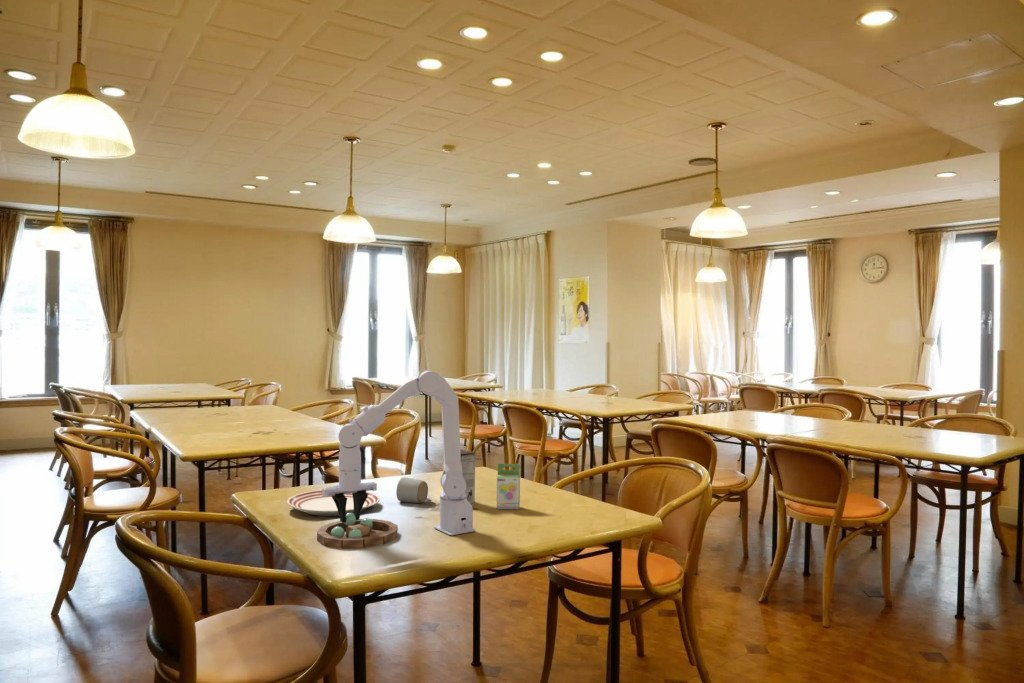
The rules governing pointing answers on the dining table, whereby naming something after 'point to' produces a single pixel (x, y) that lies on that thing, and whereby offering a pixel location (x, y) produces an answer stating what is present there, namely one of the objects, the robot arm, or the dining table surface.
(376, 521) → the ring tray
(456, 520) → the robot arm
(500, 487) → the ink box
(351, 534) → the seated bead
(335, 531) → the seated bead
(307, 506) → the dinner plate
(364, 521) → the bead
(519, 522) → the dining table surface
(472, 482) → the coffee box
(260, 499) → the dining table surface
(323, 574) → the dining table surface
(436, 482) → the dining table surface
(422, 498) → the ceramic mug
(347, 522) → the bead
